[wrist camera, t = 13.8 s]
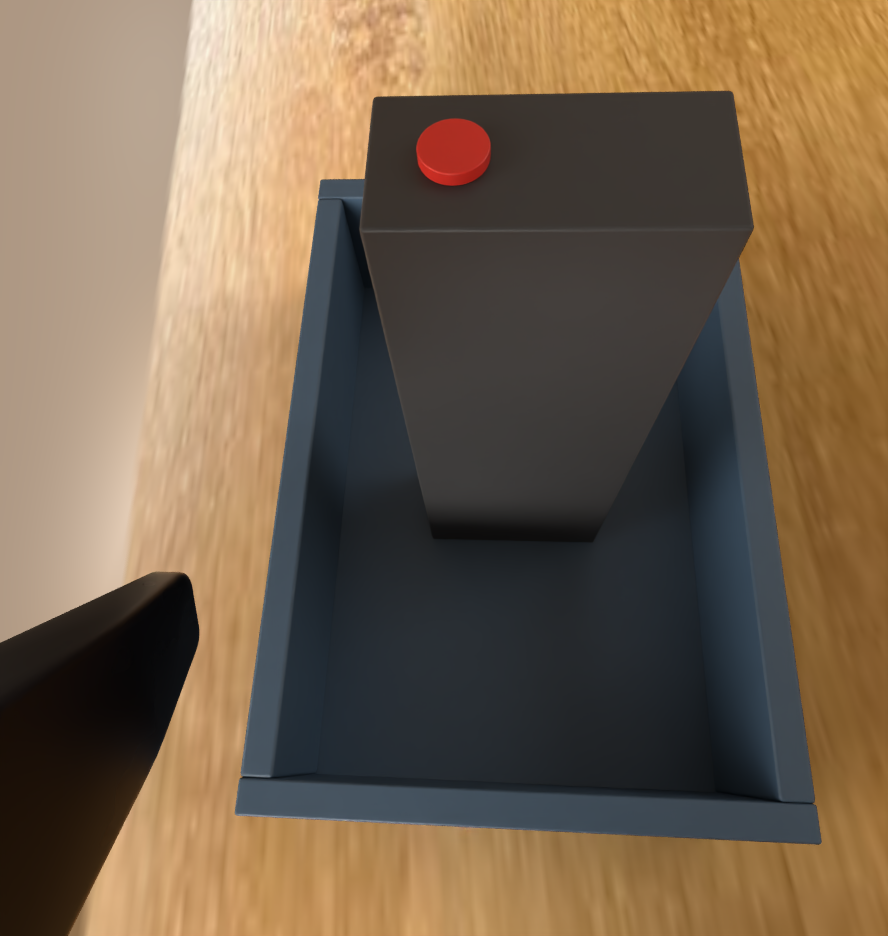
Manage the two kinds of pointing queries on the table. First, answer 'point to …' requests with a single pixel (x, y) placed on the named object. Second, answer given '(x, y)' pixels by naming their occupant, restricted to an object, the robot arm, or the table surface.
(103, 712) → the robot arm
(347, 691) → the tote
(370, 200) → the block
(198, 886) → the table surface
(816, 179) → the table surface
